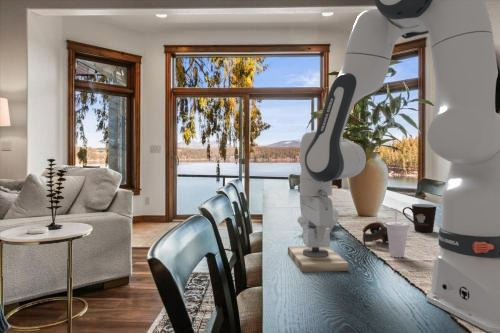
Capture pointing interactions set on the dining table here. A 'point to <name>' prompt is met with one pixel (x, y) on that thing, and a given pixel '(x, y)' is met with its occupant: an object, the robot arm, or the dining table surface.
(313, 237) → the grey hollow square block
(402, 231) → the smoothie
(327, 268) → the post block
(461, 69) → the robot arm
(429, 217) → the coffee mug
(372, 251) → the dining table surface
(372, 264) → the dining table surface
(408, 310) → the dining table surface
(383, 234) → the brown hollow curved piece
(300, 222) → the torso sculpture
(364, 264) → the dining table surface
